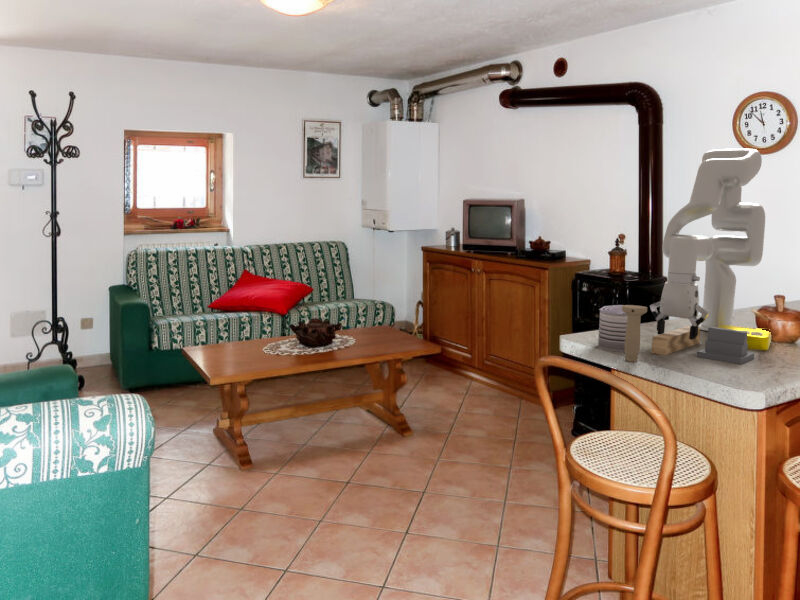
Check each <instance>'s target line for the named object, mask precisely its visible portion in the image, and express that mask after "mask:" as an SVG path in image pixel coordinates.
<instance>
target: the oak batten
mask: <svg viewBox="0 0 800 600" xmlns="http://www.w3.org/2000/svg"><path fill="white" fill-rule="evenodd" d="M690 326H691V325H690ZM690 326H689V325H687V326H683V327H680V328H677V329H674V330H670V331H666V332H664V333H663V334H657V335H654V336H652V340H651V341H652V343H651V354H655V353H656V354H657V355H662V356H667V355H669V353H670V354H673V353H675V352H678V351H681V350H683V348H684V349H686V347H687V348H689V347H691V346H695V345H697V344H700V337H701V330H700V328H698V335H697V337H696V339H692V340H691V339H689V336H690ZM672 352H673V353H672Z"/></svg>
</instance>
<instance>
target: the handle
mask: <svg viewBox="0 0 800 600" xmlns="http://www.w3.org/2000/svg"><path fill="white" fill-rule="evenodd" d="M622 305H623V306H622V311H623V312H625V313H626V314H627V316H628V319H627V328H626V335H625V352H624V354H625V355H624V361H625V362H629V363H636V362H637V361H638V358H639V354H640V348H641V319H642V318H641V317H642V316H643V315H644V314H647V312H648V307H647V306H643V305H634V304H625V305H624V304H622Z"/></svg>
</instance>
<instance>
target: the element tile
mask: <svg viewBox="0 0 800 600" xmlns="http://www.w3.org/2000/svg"><path fill="white" fill-rule="evenodd" d="M718 328H725V329H731V330H738V331H745V332H748V334H747V344H748V348H747V350H749V349H750V350H757V351H758V350H759V351H768V350H769V349H770V346H771V344H770V343H772V335H771V332H769V331H766V330H762V329H763V328H758V327H751V326H750V327H749V326H739V325H732V326H730V325H720V326H719V327H718Z"/></svg>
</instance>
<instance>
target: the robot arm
mask: <svg viewBox="0 0 800 600" xmlns="http://www.w3.org/2000/svg"><path fill="white" fill-rule="evenodd" d="M762 161H763V159H762V155H761V152H760V151H759V150H757V149H755V148H725V149H724V148H723V149H721V148H720V149H711V150H708V151H706V152H704V153H703V155H702V158H701V163H700V164H699V166H698V170H697V174H696V177H695V179H694V180H695V181H694V183H693V184H694V185H693V188H692V192H691V196H690V198H689V199H690V200H689V202H688V203H687V204H686V205H684V206H683V207H682V208H680V209H679V210H678V211H677V212H676V213H675V214H674V216H673V217H672V218H671V219H670V221H669V222H668V223H667V226H666V230H665V233H664V236H663V241H662V246H661V247H662V248H661V249H662V253H663V255H664V257H666V258H668V269H667V280H666V281H665V283H664V286H663V288H662V293H661V297H660V300H659V301H657V302H653V303H652V304H650V305H649V308H650V311H651V314H652V316H653V317H654V318H655V320H656V331H657V332H656V333H657V335H660V334H663V333H665V327H666V319H665V318H666V317H670V318H671V317H672V318H679V319H685V320H689V322H690V323H691V325H690V336H689V339H691V340H692V339H696V337H697V335H698V328H700V331H705V332H708V327H719V326H720V325H730V326H733V322H734V320H735V316H734V310H735V309H734V308H735V299H736V298H735V295H736V294H735V293H736V285H737V277H736V275H735V272H734V271H733V269H732V268H731V266H736V267H737V266H739V267H740V266H741V267H756V266H758V265H759V264H760V263H761V262H762V257H763V253H764V240H765V230H766V229H765V228H766V212H765V209H764V206H763V205H761V204H759V203H757V202H755V203H753V202H742V191H743V190H742V189H743V188H742V187H745V186H746V185H748V184H749V183H750V182H751V181H752V180H753V179H754V178H755V177H756V176H757V175H758V173H759V171H760V170H761V168H762V163H763V162H762ZM710 215H711V227H712V228H713V229H714V230H715V231H718V232H729V233H745V234H746V236H741V235H739V236H736V235H725V234H724V235H719V234H718V235H714V236H711V237H708V236H705V235H694V234H680V232H681V230H682V229H683V228H684V227H685V226H687V225H688V224H689V223H692V222H694V221H696V220H699V219H702V218H704V217H707V216H710ZM704 261H705V273H704V274H705V275H704V288H703V300H702V306H700V296H699V295H700V293H699V286H698V284H696V282H700V280H701V277H700V276H698V275H697V273H696V272H697V263H698V262H704ZM657 308H659V311H658V309H657ZM699 313H700V314H701V315H700V317H699ZM698 317H699V318H698Z"/></svg>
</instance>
